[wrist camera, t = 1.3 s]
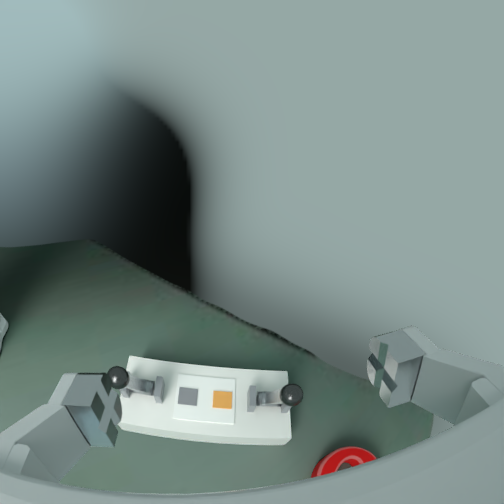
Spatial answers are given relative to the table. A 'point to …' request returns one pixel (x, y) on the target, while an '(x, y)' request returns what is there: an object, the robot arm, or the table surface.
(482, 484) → the robot arm
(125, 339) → the table surface
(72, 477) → the table surface
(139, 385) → the lever
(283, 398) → the lever
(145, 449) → the table surface
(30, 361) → the table surface
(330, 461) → the decorative ornament
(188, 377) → the switch unit
